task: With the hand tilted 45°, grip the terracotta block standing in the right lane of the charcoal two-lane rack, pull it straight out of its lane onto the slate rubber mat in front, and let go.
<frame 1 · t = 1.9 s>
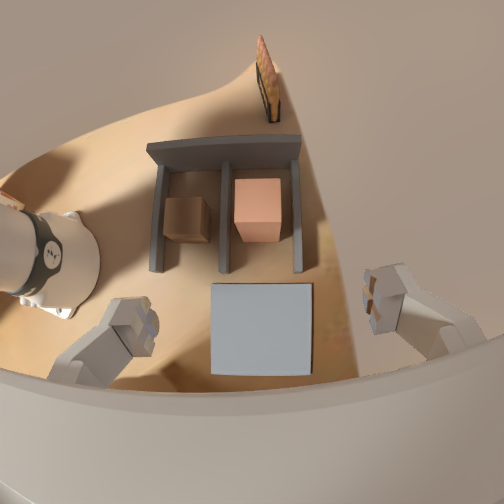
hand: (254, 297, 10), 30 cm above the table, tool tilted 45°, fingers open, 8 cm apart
lane rack: (226, 218, 43), on the table
slate mat: (260, 330, 40), on the table
coffeecake box: (5, 210, 47), on the table
ammunition clip: (268, 100, 46), on the table
terracotta block: (261, 225, 42), resting in lane rack
walnut block: (193, 226, 43), resting in lane rack
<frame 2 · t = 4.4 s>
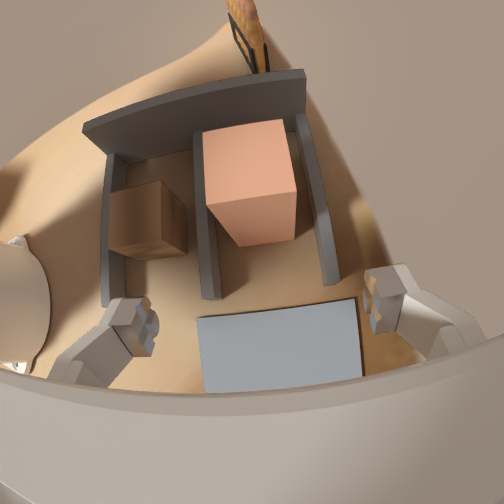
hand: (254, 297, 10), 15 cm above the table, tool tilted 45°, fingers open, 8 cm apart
lane rack: (209, 215, 28), on the table
slate mat: (282, 382, 24), on the table
ammunition clip: (251, 56, 32), on the table
terracotta block: (263, 217, 27), resting in lane rack
walnut block: (162, 233, 28), resting in lane rack
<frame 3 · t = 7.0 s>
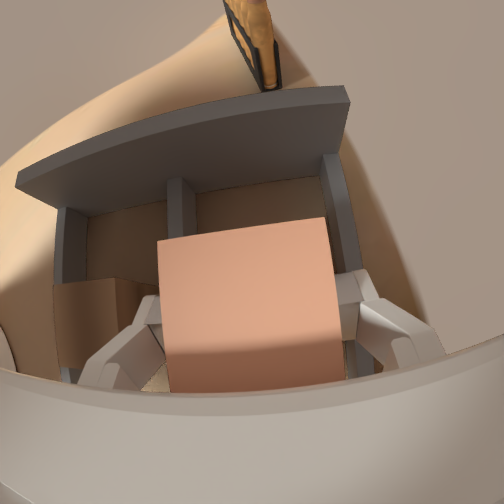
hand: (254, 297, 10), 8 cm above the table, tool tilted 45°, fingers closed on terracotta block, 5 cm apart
lane rack: (195, 305, 19), on the table
ammunition clip: (254, 58, 23), on the table
terracotta block: (272, 313, 18), resting in lane rack, touching gripper
walnut block: (134, 324, 20), resting in lane rack
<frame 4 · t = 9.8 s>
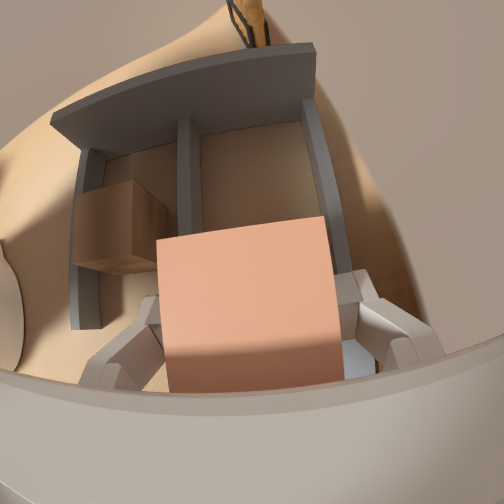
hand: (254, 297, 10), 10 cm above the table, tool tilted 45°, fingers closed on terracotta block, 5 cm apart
lane rack: (196, 221, 23), on the table
slate mat: (282, 422, 19), on the table
ammunition clip: (250, 38, 27), on the table
terracotta block: (271, 313, 18), point 2 cm above the table, touching gripper
walnut block: (141, 242, 23), resting in lane rack
when the fingers open (9 cm above the table, at t = 12.1 s): terracotta block stays where it is, resting on slate mat.
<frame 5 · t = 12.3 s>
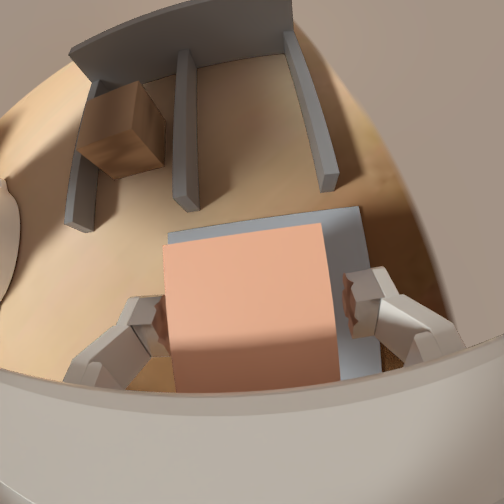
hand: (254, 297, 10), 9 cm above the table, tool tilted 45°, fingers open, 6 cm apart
lane rack: (191, 126, 23), on the table
slate mat: (272, 312, 19), on the table
terracotta block: (271, 313, 19), resting on slate mat
walnut block: (139, 149, 24), resting in lane rack
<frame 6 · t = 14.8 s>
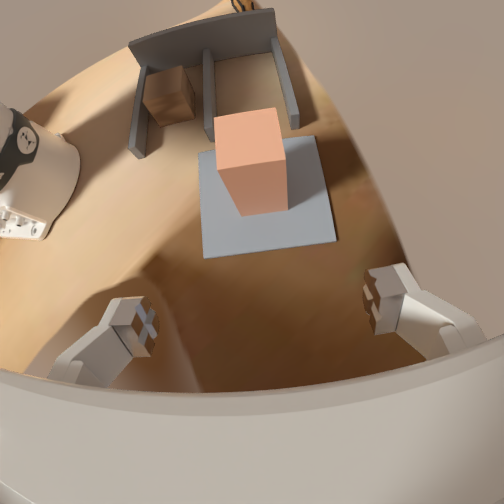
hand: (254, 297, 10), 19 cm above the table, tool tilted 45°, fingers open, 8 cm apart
lane rack: (212, 96, 36), on the table
slate mat: (262, 193, 32), on the table
ammunition clip: (244, 15, 40), on the table
terracotta block: (261, 192, 31), resting on slate mat
walnut block: (177, 109, 36), resting in lane rack
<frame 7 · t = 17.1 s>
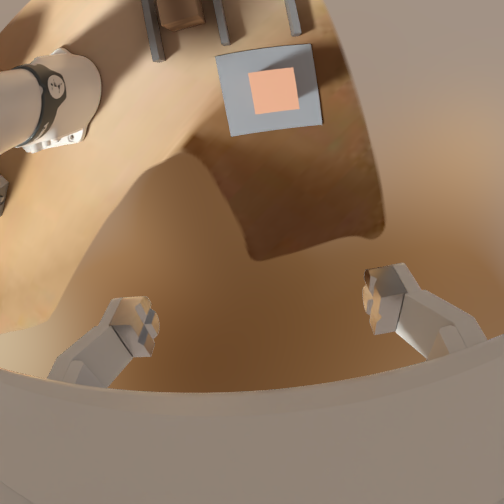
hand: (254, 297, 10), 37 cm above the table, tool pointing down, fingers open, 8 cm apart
lane rack: (218, 0, 30), on the table
slate mat: (270, 88, 38), on the table
terracotta block: (270, 88, 38), resting on slate mat
walnut block: (186, 14, 31), resting in lane rack
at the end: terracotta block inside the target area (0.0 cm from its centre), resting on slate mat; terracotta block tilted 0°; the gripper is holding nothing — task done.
